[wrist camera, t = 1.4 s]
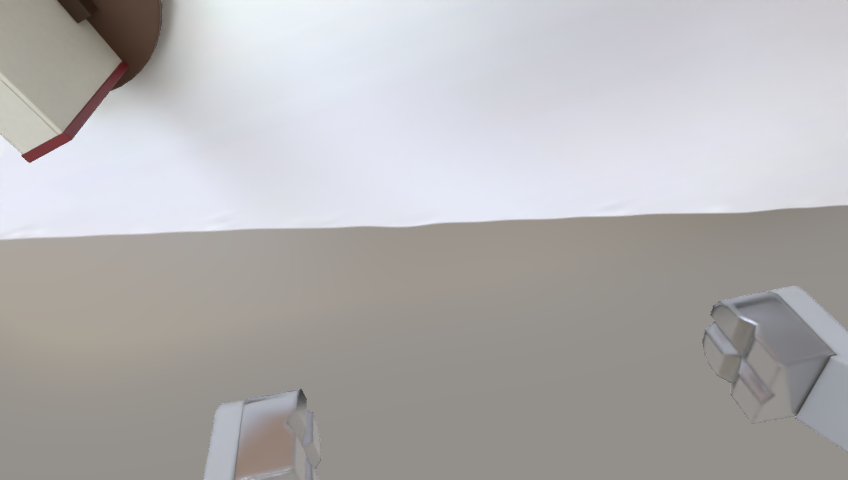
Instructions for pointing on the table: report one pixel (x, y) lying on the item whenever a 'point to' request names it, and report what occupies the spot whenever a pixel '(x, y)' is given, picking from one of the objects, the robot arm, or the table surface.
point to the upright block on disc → (67, 63)
